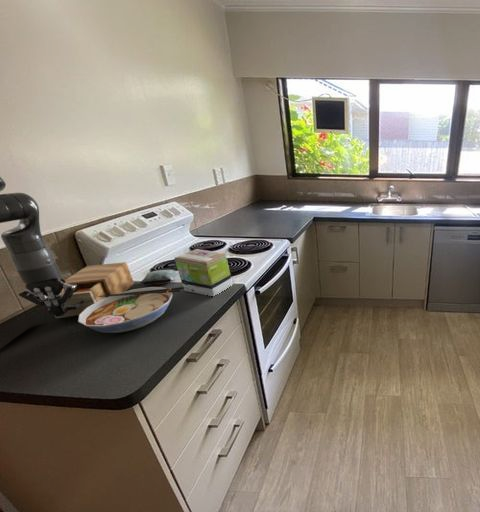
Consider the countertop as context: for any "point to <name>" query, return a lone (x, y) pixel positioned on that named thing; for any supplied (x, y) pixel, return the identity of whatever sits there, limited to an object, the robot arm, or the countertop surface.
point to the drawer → (84, 298)
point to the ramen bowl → (127, 309)
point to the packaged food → (159, 277)
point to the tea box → (204, 272)
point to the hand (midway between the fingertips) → (61, 314)
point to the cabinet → (105, 277)
